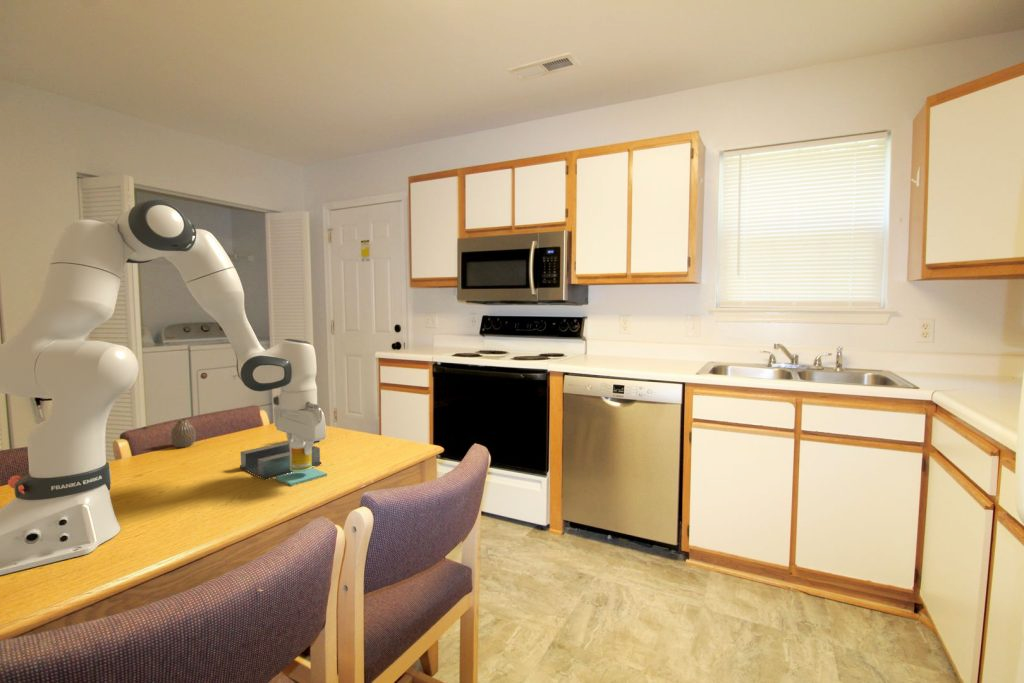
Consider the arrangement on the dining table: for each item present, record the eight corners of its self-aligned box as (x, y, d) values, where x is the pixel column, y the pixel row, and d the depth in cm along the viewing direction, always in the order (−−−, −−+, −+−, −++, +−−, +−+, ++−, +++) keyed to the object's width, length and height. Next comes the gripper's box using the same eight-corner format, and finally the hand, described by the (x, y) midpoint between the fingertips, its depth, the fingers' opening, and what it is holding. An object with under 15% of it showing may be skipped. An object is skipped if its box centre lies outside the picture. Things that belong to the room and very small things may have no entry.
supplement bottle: (315, 469, 131) (314, 433, 130) (295, 474, 127) (294, 437, 126) (306, 464, 135) (305, 429, 134) (286, 469, 131) (285, 433, 130)
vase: (187, 449, 156) (186, 422, 155) (165, 449, 156) (164, 422, 155) (201, 443, 163) (200, 417, 162) (180, 443, 163) (179, 417, 162)
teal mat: (290, 486, 125) (290, 483, 125) (275, 479, 130) (275, 476, 130) (326, 475, 133) (326, 473, 133) (311, 469, 138) (311, 467, 137)
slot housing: (265, 479, 129) (264, 462, 129) (239, 468, 138) (239, 451, 138) (321, 464, 142) (321, 448, 141) (294, 454, 151) (294, 439, 150)
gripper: (332, 403, 126) (333, 456, 127) (291, 394, 138) (292, 442, 139) (308, 407, 121) (310, 462, 122) (269, 397, 133) (270, 447, 134)
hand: (300, 451), depth 131 cm, fingers closed on supplement bottle, 5 cm apart
